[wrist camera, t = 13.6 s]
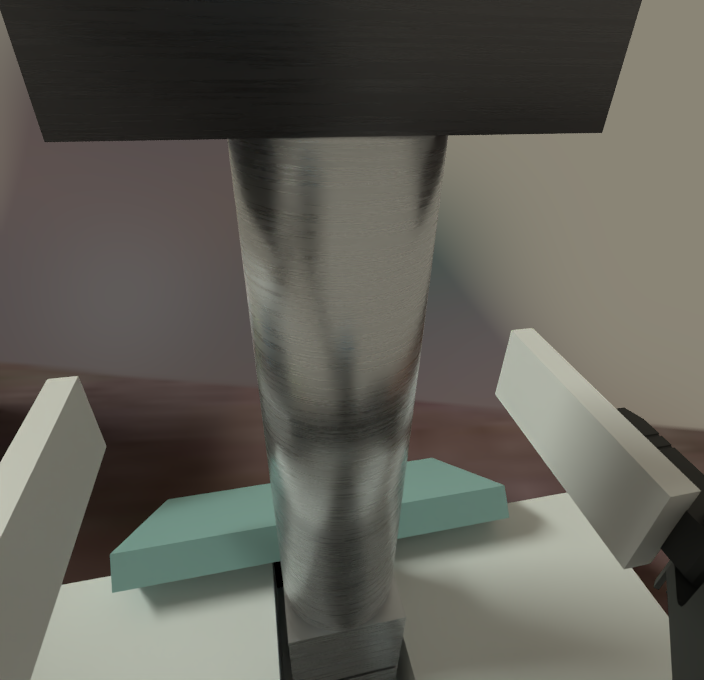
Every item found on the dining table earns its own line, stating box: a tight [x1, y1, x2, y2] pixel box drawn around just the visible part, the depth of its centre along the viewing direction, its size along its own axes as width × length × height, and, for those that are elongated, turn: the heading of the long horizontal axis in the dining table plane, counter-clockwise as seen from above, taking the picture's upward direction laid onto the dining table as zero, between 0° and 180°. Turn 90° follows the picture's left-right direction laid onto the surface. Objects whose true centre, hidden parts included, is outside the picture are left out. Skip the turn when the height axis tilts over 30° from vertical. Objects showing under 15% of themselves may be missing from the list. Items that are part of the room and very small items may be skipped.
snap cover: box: [110, 458, 509, 593], centre depth 20 cm, size 14×8×1 cm
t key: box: [0, 0, 642, 680], centre depth 11 cm, size 7×3×20 cm, turn 102°
